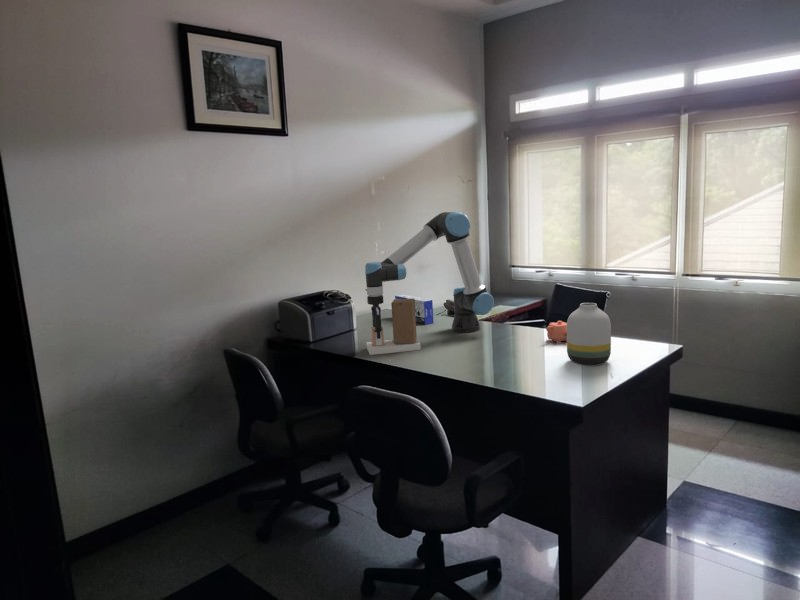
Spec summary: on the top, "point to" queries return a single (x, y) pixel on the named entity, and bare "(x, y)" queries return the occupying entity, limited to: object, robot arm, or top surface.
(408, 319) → the wooden block
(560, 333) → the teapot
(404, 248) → the robot arm
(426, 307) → the ink box
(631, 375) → the top surface
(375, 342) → the terracotta block
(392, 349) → the foundation board
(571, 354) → the vase
